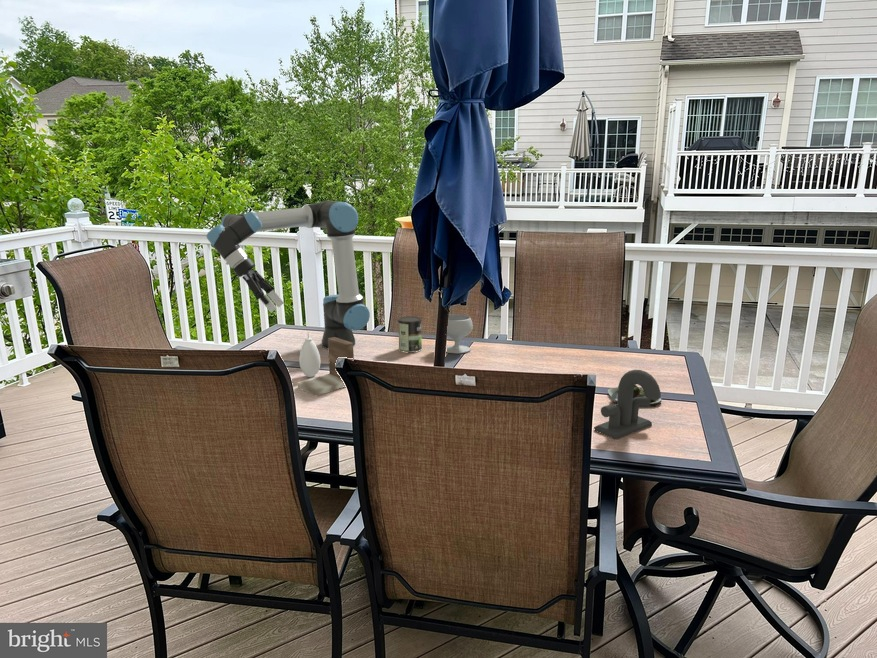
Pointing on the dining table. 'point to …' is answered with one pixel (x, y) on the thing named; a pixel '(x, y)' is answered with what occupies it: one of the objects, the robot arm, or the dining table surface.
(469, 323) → the chalice
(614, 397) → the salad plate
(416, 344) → the coffee can
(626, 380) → the faucet
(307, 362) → the sauce bottle
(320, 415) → the dining table surface
